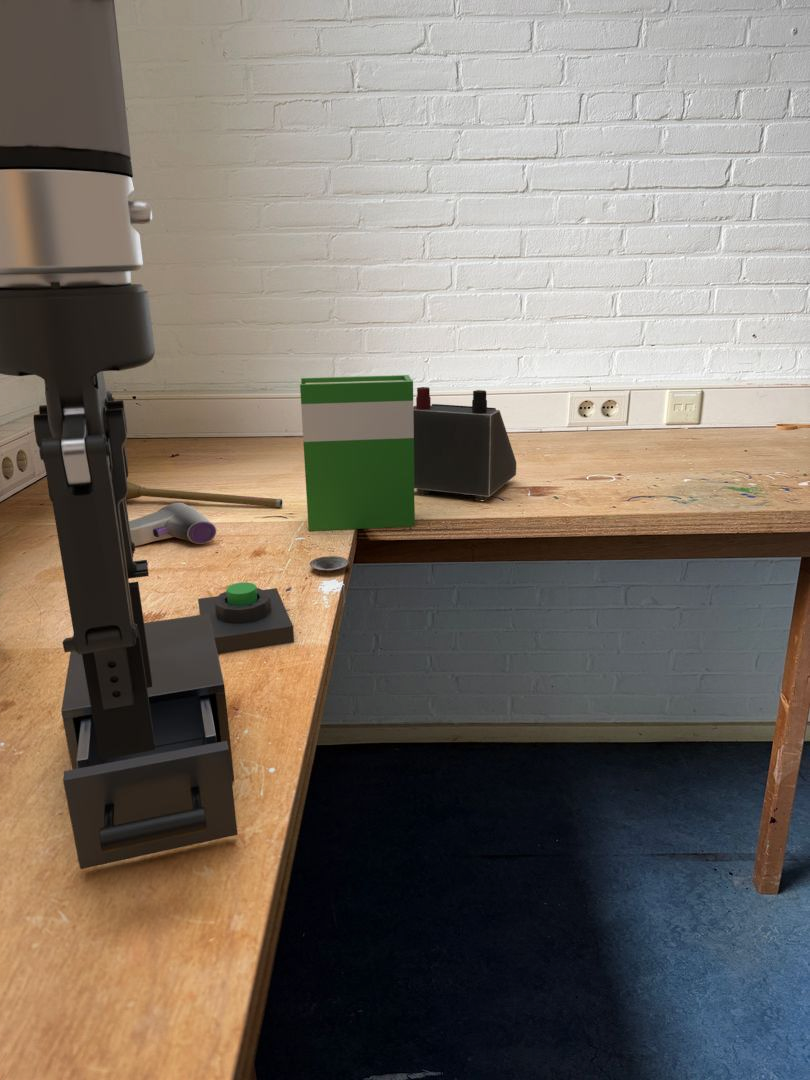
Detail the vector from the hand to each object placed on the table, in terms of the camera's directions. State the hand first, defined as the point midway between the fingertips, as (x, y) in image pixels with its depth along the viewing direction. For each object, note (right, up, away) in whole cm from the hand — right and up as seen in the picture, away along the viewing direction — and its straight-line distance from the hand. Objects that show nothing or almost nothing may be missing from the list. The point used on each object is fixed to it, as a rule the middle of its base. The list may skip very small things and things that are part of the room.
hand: (128, 716), depth 44 cm
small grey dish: (+5, +5, +71) cm, 71 cm away
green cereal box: (+8, +13, +92) cm, 93 cm away
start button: (-4, +2, +52) cm, 52 cm away
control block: (-4, -1, +53) cm, 54 cm away
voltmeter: (+27, +20, +110) cm, 115 cm away
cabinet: (-8, -10, +30) cm, 32 cm away
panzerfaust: (-24, +16, +103) cm, 107 cm away
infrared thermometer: (-23, +9, +82) cm, 86 cm away
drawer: (-4, -12, +20) cm, 23 cm away
